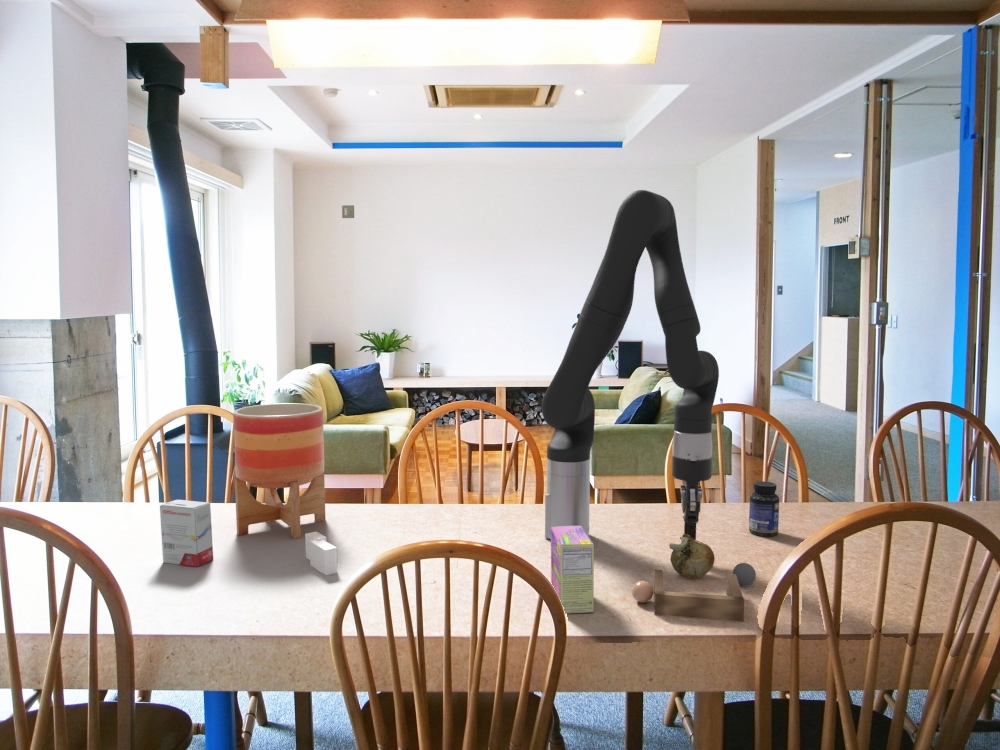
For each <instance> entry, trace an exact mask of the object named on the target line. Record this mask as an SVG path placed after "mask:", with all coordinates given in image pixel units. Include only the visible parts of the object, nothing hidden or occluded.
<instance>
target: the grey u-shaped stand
mask: <svg viewBox="0 0 1000 750" xmlns="http://www.w3.org/2000/svg"><path fill="white" fill-rule="evenodd" d="M653 573H654V574H653V602H654V603H653V604H654V605H653V606H654V615H655V616H664V617H665V616H667V617H680V618H691V619H692V618H693V619H704V620H718V621H719V620H722V621H732V622H744V620H745V619H744V618H745V617H744V616H745V615H744V613H745V599H744V596H743V593H742V590H741V585H740V584H739V583H738V579H737V576H736V574H733V573H732V574H731V573H727V574H726V591H725V592H726V593H725V594H726V595H723V594H722V595H721V594H719V595H718V594H707V593H692V592H678V591H677V592H676V591H665V581H664V580H665V579H664V570H663V569H657V568H654V569H653Z"/></svg>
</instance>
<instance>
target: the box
mask: <svg viewBox="0 0 1000 750" xmlns="http://www.w3.org/2000/svg"><path fill="white" fill-rule="evenodd" d="M594 549H595V545H594V543H593V541H592V540H591V537H590V536H589V537H588V535H587V534H586V532H585V531H584V529H583V528H582V526H556V527H551V539H550V565H551V566H550V569H551V570H550V572H551V573H550V584H551V583H552V585H553V586H554V588H555V590H556V592H557V594H558V596H559V598H560V600H561V603H562V605H563V607H564V611H565V614H568V615H569V614H584V613H585V614H590V613H594V593H595V592H594V582H595V581H594V578H595V577H594V576H595V575H594V574H595V573H594V571H595V570H594V569H595V568H594V567H595V566H594V560H595V558H594V557H595V556H594V555H595V550H594ZM565 614H564V615H565Z"/></svg>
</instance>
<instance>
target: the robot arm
mask: <svg viewBox="0 0 1000 750" xmlns="http://www.w3.org/2000/svg"><path fill="white" fill-rule="evenodd" d="M675 213H676V212H675V209H674V206H673V204H672V203H671V201H670V200H669V199H668V198H666V197H664V196H663V195H661V194H658V193H655V192H652V191H650V190H647V189H646V190H645V189H639V190H635V191H634V190H633V191H632V192H631V193H629V194H628V195H626V197H625V198H623V200H622V202H621V204H620V206H619V207H618V210H617V213H616V215H615V218H614V222H613V226H612V230H611V232H610V236H609V240H608V243H607V247H606V249H605V252H604V255H603V258H602V260H601V263H600V265H599V267H598V270H597V273H596V275H595V277H594V280H593V283H592V285H591V287H590V290H589V292H588V294H587V296H586V298H585V302H584V303H583V306H582V309H581V311H580V313H579V316H578V319H577V321H576V325H575V327H574V329H573V332H572V334H571V337H570V340H569V342H568V345H567V348H566V349H565V353H564V355H563V359H562V360H561V363H560V365H559V366H558V369H557V371H556V372H555V374H554V376H553V378H552V380H551V382H550V384H549V386H548V387H547V389H546V391H545V393H544V395H543V398H542V402H541V413H542V414H541V415H542V417H543V419H544V421H545V423H546V424H547V425H548V426H549V427H551V428H553V429H554V431H553V435H552V438H551V439H550V441H549V442H548V444H547V448H546V493H545V496H544V497H545V498H544V500H545V501H544V502H545V503H544V538H545V539H549V540H551V527H556V526H582V528H583V529H584V531H585V532H586V534H587V535H588V537H589V538H590V505H591V504H590V489H591V485H590V483H591V482H590V481H591V472H590V471H591V450H592V447H593V444H594V439H595V437H594V435H595V421H596V420H595V419H596V403H595V399H594V396H593V394H592V391H591V390H590V389H589V386H590V383H591V381H592V378H593V377H594V374H595V372H596V371H597V370H598V368H599V366H601V363H603V361H604V360H605V358H606V357H607V355H609V353H610V352H611V350H612V349H614V346H615V345H616V343H617V342H618V340H619V338H620V336H621V334H622V332H623V330H624V328H625V325H626V323H627V320H628V318H629V316H630V314H631V310H632V306H633V303H634V302H633V301H634V293H635V283H636V282H635V280H636V274H637V270H638V269H637V268H638V266H639V265H638V264H639V262H640V260H641V257H642V255H643V253H644V251H645V249H646V251H647V254H648V256H649V259H650V263H651V267H652V272H653V274H652V275H653V294H654V303H655V308H656V312H657V315H658V319H659V322H660V325H661V328H662V332H663V334H664V338H665V339H664V343H665V347H664V348H665V359H666V366H667V371H668V373H669V376H670V378H671V380H672V381H673V383H674V385H676V386H678V387H679V388H680V389H683V393H682V397H681V399H680V400H679V401H678V402H677V403H676V404H675V407H674V423H673V426H674V427H673V429H674V431H673V437H672V449H671V450H672V451H671V452H672V454H671V456H672V458H671V477H673V478H674V479H676V480H679V481H684V483H683V484H680V497H681V499H680V500H681V503H680V504H681V510H682V513H683V515H682V519H683V524H684V525H683V527H684V528H683V534H687V535H690V538H691V539H693V540H697V524H698V523H699V516H700V515H699V514H700V513H701V504H702V502H701V501H702V500H701V499H702V498H703V489H702V485H699V483H700V482H706V481H709V480H711V478H712V470H713V469H712V467H713V436H712V427H713V425H712V423H713V421H712V419H713V414H712V413H713V412H712V410H713V407H714V402H715V398H716V393H717V389H718V383H719V378H720V370H719V368H720V367H719V364H718V361H717V359H716V358H715V356H714V355H713V354H712V353H711V352H709V351H707V350H699V348H698V347H699V346H698V342H697V336H699V334H700V333H701V324H700V320H699V317H698V313H697V310H696V306H695V303H694V301H693V298H692V293H691V291H690V287H689V284H688V280H687V276H686V272H685V267H684V264H683V258H682V253H681V248H680V241H679V234H678V224H677V219H676V214H675Z"/></svg>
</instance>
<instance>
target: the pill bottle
mask: <svg viewBox="0 0 1000 750" xmlns="http://www.w3.org/2000/svg"><path fill="white" fill-rule="evenodd" d="M753 489H754V492H752V493H751V494H750V495H749V511H748V512H749V513H748V515H749V516H748V518H749V519H748V530H749V532H750V533H751V534H753V535H755V536H760V537H770V538H771V537H776V536H777V535H778V534H779V521H780V520H779V518H780V517H779V516H780V497H779V496H778V494H776V491H777V484H776V483H775V482H772V481H765V480H763V481H761V480H760V481H755V482H753Z"/></svg>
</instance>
